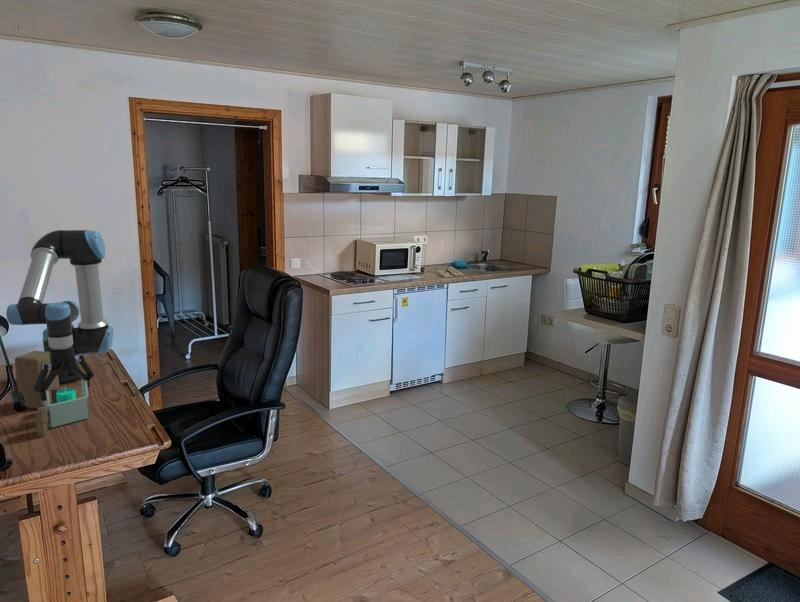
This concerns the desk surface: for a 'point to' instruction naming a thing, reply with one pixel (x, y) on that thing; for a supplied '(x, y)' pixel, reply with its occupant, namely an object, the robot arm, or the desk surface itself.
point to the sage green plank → (68, 411)
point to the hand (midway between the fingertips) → (67, 402)
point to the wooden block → (32, 376)
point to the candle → (65, 395)
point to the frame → (45, 414)
